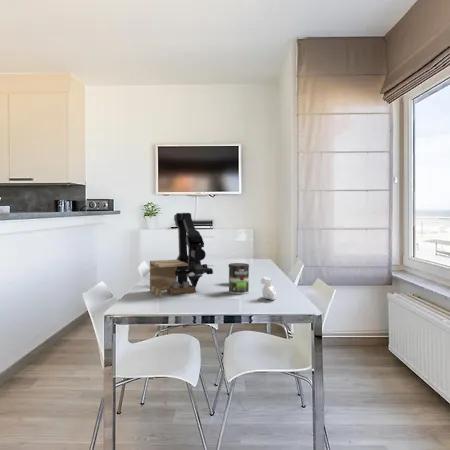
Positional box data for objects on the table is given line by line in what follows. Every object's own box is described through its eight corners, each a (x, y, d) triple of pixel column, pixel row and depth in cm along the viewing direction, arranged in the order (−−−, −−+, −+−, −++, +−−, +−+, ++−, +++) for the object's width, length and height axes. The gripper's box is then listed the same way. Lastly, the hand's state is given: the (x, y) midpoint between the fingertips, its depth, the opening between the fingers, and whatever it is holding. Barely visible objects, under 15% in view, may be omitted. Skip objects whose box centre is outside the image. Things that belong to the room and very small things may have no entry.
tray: (166, 291, 199) (166, 281, 198) (189, 289, 204) (189, 279, 204) (172, 294, 190) (172, 284, 190) (195, 292, 196) (195, 282, 196)
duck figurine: (267, 300, 189) (253, 281, 189) (280, 290, 189) (266, 272, 189) (269, 306, 177) (254, 286, 177) (282, 296, 177) (267, 276, 177)
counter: (149, 291, 200) (149, 260, 199) (176, 288, 206) (176, 259, 205) (159, 298, 183) (159, 265, 183) (188, 295, 189) (188, 263, 189)
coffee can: (251, 293, 194) (251, 265, 194) (231, 294, 192) (231, 266, 191) (245, 289, 204) (245, 262, 204) (226, 290, 202) (226, 263, 201)
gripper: (182, 261, 188) (182, 293, 189) (217, 258, 197) (217, 289, 197) (174, 258, 198) (174, 289, 199) (208, 256, 207) (208, 286, 207)
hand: (194, 288), depth 200 cm, fingers closed
